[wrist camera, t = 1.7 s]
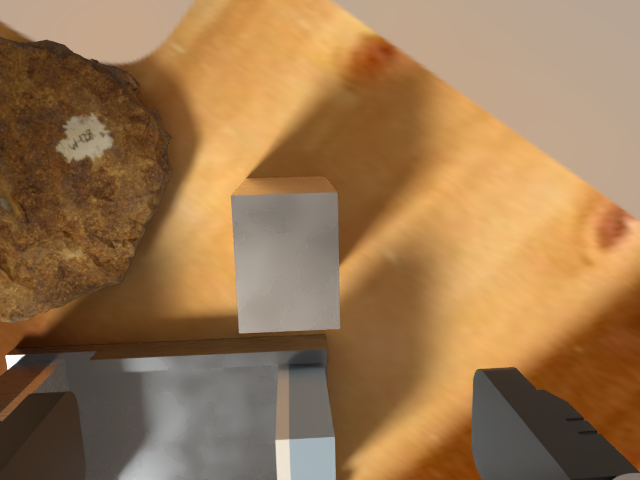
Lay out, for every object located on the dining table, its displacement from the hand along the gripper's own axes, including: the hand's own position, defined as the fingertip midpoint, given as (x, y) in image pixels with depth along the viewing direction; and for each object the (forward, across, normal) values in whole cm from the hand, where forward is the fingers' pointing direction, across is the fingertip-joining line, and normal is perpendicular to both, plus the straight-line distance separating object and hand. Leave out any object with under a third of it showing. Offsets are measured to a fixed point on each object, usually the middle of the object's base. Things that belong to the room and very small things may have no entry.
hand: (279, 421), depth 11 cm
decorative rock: (+21, +12, -3) cm, 24 cm away
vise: (+20, +7, +12) cm, 24 cm away
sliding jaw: (+19, -1, +12) cm, 22 cm away
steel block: (+20, 0, 0) cm, 20 cm away
